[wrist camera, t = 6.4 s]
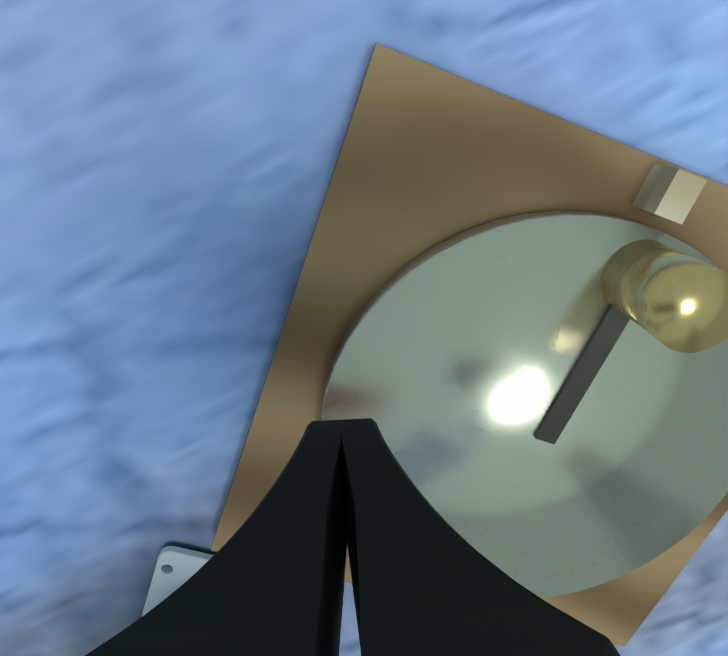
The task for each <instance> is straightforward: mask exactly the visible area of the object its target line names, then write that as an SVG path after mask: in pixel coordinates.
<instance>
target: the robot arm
mask: <svg viewBox="0 0 728 656" xmlns="http://www.w3.org/2000/svg"><path fill="white" fill-rule="evenodd" d="M347 547H348V555H349V562H350V570H351V578H352V586H353V593H354V601H355V609H356V616H357V624H358V632H359V640H360V647H361V656H620V654H619V653H618V651H617V650H616V648H615V647H614V645H613V644H612V642H611V641H610V639H609V638H608V637H606V636H604V635H603V634H601V633H599V632H598V631H596V630H594V629H592V628H591V627H589V626H587V625H585V624H584V623H582V622H580V621H578V620H577V619H575V618H573V617H571V616H570V615H568V614H566V613H565V612H563V611H561V610H559V609H558V608H556V607H554V606H552V605H551V604H549V603H548V602H546V601H544V600H543V599H541V598H540V597H538V596H537V595H535V594H534V593H533V592H531V591H530V590H528V589H527V588H525V587H524V586H522V585H521V584H519V583H518V582H516V581H515V580H513V579H512V578H511V577H509V576H508V575H507V574H506V573H504V572H503V571H502V570H501V569H499V568H498V567H497V566H496V565H494V564H493V563H492V562H490V561H489V560H488V559H487V558H485V557H484V556H483V555H482V554H480V553H479V552H478V551H477V550H476V549H475V548H474V547H472V546H471V545H470V544H469V543H468V542H467V541H466V540H465V539H464V538H463V537H461V536H460V535H459V534H458V533H457V532H456V531H455V530H454V529H453V528H452V527H451V526H450V525H449V524H448V523H447V522H446V521H445V520H444V519H443V518H442V517H441V515H440V514H439V513H438V512H437V511H436V510H435V509H434V508H433V507H432V505H431V504H430V503H429V502H428V501H427V500H426V498H425V497H424V496H423V495H422V494H421V492H420V491H419V490H418V489H417V487H416V486H415V485H414V484H413V482H412V481H411V480H410V478H409V477H408V475H407V474H406V473H405V471H404V470H403V468H402V467H401V466H400V464H399V463H398V461H397V460H396V458H395V457H394V455H393V454H392V452H391V450H390V449H389V447H388V445H387V444H386V442H385V440H384V438H383V436H382V434H381V432H380V430H379V428H378V425H377V423H376V422H375V421H374V420H373V419H372V418H363V419H343V420H322V421H312V422H311V423H310V424H309V425H308V426H307V427H306V430H305V432H304V434H303V436H302V438H301V440H300V442H299V444H298V446H297V448H296V449H295V451H294V453H293V455H292V456H291V458H290V460H289V461H288V463H287V464H286V466H285V468H284V469H283V471H282V472H281V474H280V475H279V477H278V478H277V480H276V481H275V483H274V484H273V486H272V487H271V489H270V490H269V491H268V493H267V494H266V495H265V497H264V498H263V499H262V501H261V502H260V503H259V505H258V506H257V507H256V509H255V510H254V511H253V512H252V514H251V515H250V516H249V517H248V519H247V520H246V521H245V522H244V523H243V524H242V526H241V527H240V528H239V529H238V530H237V531H236V532H235V534H234V535H233V536H232V537H231V538H230V539H229V540H228V541H227V542H226V543H225V544H224V545H223V546H222V548H221V549H220V550H219V551H218V552H216V553H215V554H214V555H211V554H206V553H202V552H198V551H193V550H189V549H185V548H180V547H176V546H166V547H164V548H163V549H162V550H161V552H160V554H159V557H158V560H157V563H156V567H155V570H154V574H153V577H152V581H151V584H150V588H149V592H148V595H147V599H146V602H145V606H144V609H143V613H142V616H141V618H140V619H138V620H137V621H135V622H134V623H133V624H131V625H130V626H129V627H127V628H126V629H124V630H123V631H122V632H120V633H118V634H117V635H115V636H114V637H112V638H111V639H109V640H108V641H106V642H105V643H103V644H102V645H100V646H99V647H97V648H96V649H94V650H93V651H91V652H90V653H88V654H87V655H85V656H339V644H340V631H341V618H342V606H343V593H344V580H345V567H346V554H347ZM166 565H170V566H172V567H169V566H166Z"/></svg>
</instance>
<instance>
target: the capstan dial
mask: <svg viewBox="0 0 728 656" xmlns="http://www.w3.org/2000/svg"><path fill="white" fill-rule="evenodd" d="M363 418H372V419H373V420H374V421H375V422H376V423H377V425H378V428H379V430H380V432H381V434H382V436H383V438H384V440H385V442H386V444H387V445H388V447H389V449H390V450H391V452H392V454H393V455H394V457H395V458H396V460H397V461H398V463H399V464H400V466H401V467H402V468H403V470H404V471H405V473H406V474H407V475H408V477H409V478H410V480H411V481H412V482H413V484H414V485H415V486H416V487H417V489H418V490H419V491H420V492H421V494H422V495H423V496H424V497H425V498H426V500H427V501H428V502H429V503H430V504H431V505H432V507H433V508H434V509H435V510H436V511H437V512H438V513H439V514H440V515H441V517H442V518H443V519H444V520H445V521H446V522H447V523H448V524H449V525H450V526H451V527H452V528H453V529H454V530H455V531H456V532H457V533H458V534H459V535H460V536H461V537H463V538H464V539H465V540H466V541H467V542H468V543H469V544H470V545H471V546H472V547H474V548H475V549H476V550H477V551H478V552H479V553H480V554H482V555H483V556H484V557H485V558H487V559H488V560H489V561H490V562H492V563H493V564H494V565H496V566H497V567H498V568H499V569H501V570H502V571H503V572H504V573H506V574H507V575H508V576H509V577H511V578H512V579H513V580H515V581H516V582H518V583H519V584H521V585H522V586H524V587H525V588H527V589H528V590H530V591H531V592H533V593H534V594H535V595H537V596H538V597H540V598H549V597H554V596H560V595H565V594H570V593H574V592H578V591H581V590H585V589H588V588H591V587H595V586H598V585H601V584H603V583H606V582H608V581H611V580H613V579H616V578H618V577H621V576H623V575H625V574H627V573H629V572H631V571H633V570H635V569H637V568H639V567H641V566H643V565H645V564H647V563H648V562H650V561H651V560H653V559H654V558H656V557H658V556H659V555H661V554H662V553H664V552H666V551H667V550H669V549H670V548H671V547H672V546H674V545H675V544H676V543H678V542H679V541H680V540H682V539H683V538H684V537H685V536H687V535H688V534H689V533H690V532H691V531H692V530H693V529H694V528H695V527H697V526H698V525H699V524H700V523H701V522H702V521H703V520H704V519H705V518H706V517H707V516H708V515H709V514H710V513H711V511H712V510H713V509H714V508H715V507H716V506H717V505H718V503H719V502H720V501H721V500H722V499H723V498H724V496H725V495H726V493H727V492H728V272H726V271H723V270H721V269H719V268H718V267H717V266H716V265H715V264H714V263H713V262H712V261H711V260H709V259H708V258H706V257H705V256H704V255H702V254H701V253H700V252H698V251H697V250H695V249H694V248H693V247H691V246H690V245H688V244H686V243H684V242H682V241H680V240H678V239H676V238H674V237H672V236H670V235H668V234H666V233H664V232H661V231H659V230H657V229H654V228H652V227H649V226H647V225H644V224H641V223H638V222H635V221H631V220H628V219H625V218H622V217H619V216H613V215H608V214H602V213H596V212H590V211H565V210H555V211H545V212H535V213H525V214H520V215H516V216H512V217H507V218H503V219H499V220H494V221H491V222H488V223H486V224H483V225H480V226H477V227H475V228H472V229H469V230H467V231H464V232H461V233H459V234H457V235H455V236H453V237H452V238H450V239H448V240H446V241H444V242H442V243H440V244H438V245H436V246H434V247H432V248H431V249H429V250H428V251H426V252H425V253H423V254H422V255H420V256H419V257H418V258H416V259H415V260H413V261H412V262H410V263H409V264H407V265H406V266H405V267H404V268H402V269H401V270H400V271H399V272H398V273H397V274H396V275H394V276H393V277H392V278H391V279H390V280H389V281H388V282H387V283H385V284H384V285H383V286H382V287H381V288H380V289H379V291H378V292H377V293H376V294H375V295H374V296H373V297H372V299H371V300H370V301H369V302H368V303H367V304H366V305H365V307H364V308H363V309H362V310H361V312H360V313H359V315H358V316H357V318H356V319H355V321H354V322H353V324H352V325H351V327H350V328H349V330H348V331H347V333H346V335H345V337H344V339H343V341H342V343H341V345H340V347H339V349H338V351H337V353H336V355H335V357H334V360H333V363H332V366H331V369H330V372H329V376H328V379H327V382H326V386H325V392H324V398H323V404H322V414H321V421H322V420H343V419H363Z"/></svg>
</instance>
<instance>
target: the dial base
mask: <svg viewBox="0 0 728 656" xmlns="http://www.w3.org/2000/svg"><path fill="white" fill-rule="evenodd" d="M555 210H565V211H590V212H596V213H602V214H608V215H613V216H619V217H622V218H625V219H628V220H631V221H635V222H638V223H641V224H644V225H647V226H649V227H652V228H654V229H657V230H659V231H661V232H664V233H666V234H668V235H670V236H672V237H674V238H676V239H678V240H680V241H682V242H684V243H686V244H688V245H690V246H691V247H693V248H694V249H695V250H697V251H698V252H700V253H701V254H702V255H704V256H705V257H706V258H708V259H709V260H711V261H712V262H713V263H714V264H715V265H716V266H717V267H718V268H719V269H721V270H723V271H726V272H728V186H726V185H723V184H721V183H718V182H716V181H714V180H711V179H709V178H706V177H704V176H701V175H699V174H696V173H694V172H692V171H689V170H687V169H684V168H682V167H679V166H677V165H674V164H672V163H670V162H667V161H665V160H662V159H660V158H657V157H655V156H652V155H650V154H648V153H645V152H643V151H640V150H638V149H635V148H633V147H630V146H628V145H625V144H623V143H621V142H618V141H616V140H613V139H611V138H608V137H606V136H603V135H601V134H599V133H596V132H594V131H591V130H589V129H586V128H584V127H581V126H579V125H577V124H574V123H572V122H569V121H567V120H564V119H562V118H559V117H557V116H555V115H552V114H550V113H547V112H545V111H542V110H540V109H537V108H535V107H532V106H530V105H528V104H525V103H523V102H520V101H518V100H515V99H513V98H510V97H508V96H506V95H503V94H501V93H498V92H496V91H493V90H491V89H488V88H486V87H484V86H481V85H479V84H476V83H474V82H471V81H469V80H466V79H464V78H462V77H459V76H457V75H454V74H452V73H449V72H447V71H444V70H442V69H439V68H437V67H435V66H432V65H430V64H427V63H425V62H422V61H420V60H417V59H415V58H413V57H410V56H408V55H405V54H403V53H400V52H398V51H395V50H393V49H391V48H388V47H386V46H383V45H381V44H378V43H376V44H375V46H374V49H373V52H372V55H371V58H370V61H369V64H368V67H367V70H366V73H365V76H364V80H363V83H362V86H361V89H360V92H359V95H358V98H357V101H356V104H355V107H354V110H353V113H352V116H351V119H350V122H349V125H348V129H347V132H346V135H345V138H344V141H343V144H342V147H341V150H340V153H339V156H338V159H337V162H336V165H335V168H334V171H333V175H332V178H331V181H330V184H329V187H328V190H327V193H326V196H325V199H324V202H323V205H322V208H321V211H320V214H319V217H318V220H317V224H316V227H315V230H314V233H313V236H312V239H311V242H310V245H309V248H308V251H307V254H306V257H305V260H304V263H303V266H302V269H301V273H300V276H299V279H298V282H297V285H296V288H295V291H294V294H293V297H292V300H291V303H290V306H289V309H288V312H287V315H286V318H285V322H284V325H283V328H282V331H281V334H280V337H279V340H278V343H277V346H276V349H275V352H274V355H273V358H272V361H271V364H270V367H269V371H268V374H267V377H266V380H265V383H264V386H263V389H262V392H261V395H260V398H259V401H258V404H257V407H256V410H255V413H254V416H253V420H252V423H251V426H250V429H249V432H248V435H247V438H246V441H245V444H244V447H243V450H242V453H241V456H240V459H239V462H238V466H237V469H236V472H235V475H234V478H233V481H232V484H231V487H230V490H229V493H228V496H227V499H226V502H225V505H224V508H223V511H222V515H221V518H220V521H219V524H218V527H217V530H216V533H215V536H214V540H213V543H212V547H211V551H216V552H218V551H219V550H220V549H221V548H222V546H223V545H224V544H225V543H226V542H227V541H228V540H229V539H230V538H231V537H232V536H233V535H234V534H235V532H236V531H237V530H238V529H239V528H240V527H241V526H242V524H243V523H244V522H245V521H246V520H247V519H248V517H249V516H250V515H251V514H252V512H253V511H254V510H255V509H256V507H257V506H258V505H259V503H260V502H261V501H262V499H263V498H264V497H265V495H266V494H267V493H268V491H269V490H270V489H271V487H272V486H273V484H274V483H275V481H276V480H277V478H278V477H279V475H280V474H281V472H282V471H283V469H284V468H285V466H286V464H287V463H288V461H289V460H290V458H291V456H292V455H293V453H294V451H295V449H296V448H297V446H298V444H299V442H300V440H301V438H302V436H303V434H304V432H305V430H306V427H307V426H308V425H309V424H310V423H311V422H312V421H321V414H322V404H323V398H324V392H325V386H326V382H327V379H328V376H329V372H330V369H331V366H332V363H333V360H334V357H335V355H336V353H337V351H338V349H339V347H340V345H341V343H342V341H343V339H344V337H345V335H346V333H347V331H348V330H349V328H350V327H351V325H352V324H353V322H354V321H355V319H356V318H357V316H358V315H359V313H360V312H361V310H362V309H363V308H364V307H365V305H366V304H367V303H368V302H369V301H370V300H371V299H372V297H373V296H374V295H375V294H376V293H377V292H378V291H379V289H380V288H381V287H382V286H383V285H384V284H385V283H387V282H388V281H389V280H390V279H391V278H392V277H393V276H394V275H396V274H397V273H398V272H399V271H400V270H401V269H402V268H404V267H405V266H406V265H407V264H409V263H410V262H412V261H413V260H415V259H416V258H418V257H419V256H420V255H422V254H423V253H425V252H426V251H428V250H429V249H431V248H432V247H434V246H436V245H438V244H440V243H442V242H444V241H446V240H448V239H450V238H452V237H453V236H455V235H457V234H459V233H461V232H464V231H467V230H469V229H472V228H475V227H477V226H480V225H483V224H486V223H488V222H491V221H494V220H499V219H503V218H507V217H512V216H516V215H520V214H525V213H535V212H545V211H555ZM727 510H728V492H727V493H726V495H725V496H724V498H723V499H722V500H721V501H720V502H719V503H718V505H717V506H716V507H715V508H714V509H713V510H712V511H711V513H710V514H709V515H708V516H707V517H706V518H705V519H704V520H703V521H702V522H701V523H700V524H699V525H698V526H697V527H695V528H694V529H693V530H692V531H691V532H690V533H689V534H688V535H687V536H685V537H684V538H683V539H682V540H680V541H679V542H678V543H676V544H675V545H674V546H672V547H671V548H670V549H669V550H667V551H666V552H664V553H662V554H661V555H659V556H658V557H656V558H654V559H653V560H651V561H650V562H648V563H647V564H645V565H643V566H641V567H639V568H637V569H635V570H633V571H631V572H629V573H627V574H625V575H623V576H621V577H618V578H616V579H613V580H611V581H608V582H606V583H603V584H601V585H598V586H595V587H591V588H588V589H585V590H581V591H578V592H574V593H570V594H565V595H560V596H554V597H549V598H541V599H543V600H544V601H546V602H548V603H549V604H551V605H552V606H554V607H556V608H558V609H559V610H561V611H563V612H565V613H566V614H568V615H570V616H571V617H573V618H575V619H577V620H578V621H580V622H582V623H584V624H585V625H587V626H589V627H591V628H592V629H594V630H596V631H598V632H599V633H601V634H603V635H604V636H606V637H608V638H609V639H610V641H611V642H612V644H616V645H621V646H625V645H626V644H627V643H628V641H629V640H630V639H631V637H632V636H633V635H634V633H635V632H636V631H637V629H638V628H639V627H640V625H641V624H642V623H643V621H644V620H645V619H646V617H647V616H648V615H649V613H650V612H651V611H652V609H653V608H654V607H655V605H656V604H657V603H658V601H659V600H660V599H661V597H662V596H663V595H664V594H665V592H666V591H667V590H668V588H669V587H670V586H671V584H672V583H673V582H674V580H675V579H676V578H677V576H678V575H679V574H680V572H681V571H682V570H683V568H684V567H685V566H686V564H687V563H688V562H689V560H690V559H691V558H692V556H693V555H694V554H695V552H696V551H697V550H698V548H699V547H700V546H701V544H702V543H703V542H704V540H705V539H706V538H707V536H708V535H709V534H710V532H711V531H712V530H713V528H714V527H715V526H716V524H717V523H718V522H719V520H720V519H721V518H722V516H723V515H724V514H725V512H726V511H727ZM344 581H345V582H349V583H352V578H351V570H350V562H349V555H348V547H347V554H346V567H345V580H344Z"/></svg>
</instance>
